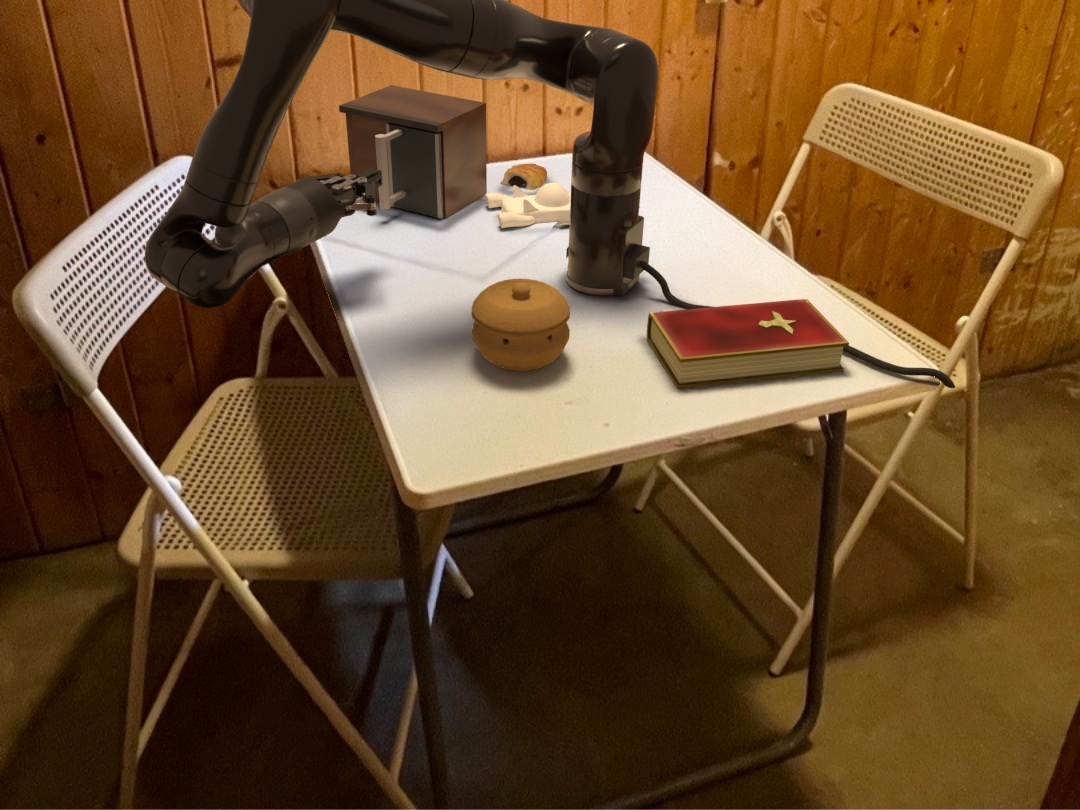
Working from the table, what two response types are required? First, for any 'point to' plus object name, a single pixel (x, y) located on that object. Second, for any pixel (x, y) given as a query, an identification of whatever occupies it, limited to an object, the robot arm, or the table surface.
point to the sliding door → (410, 169)
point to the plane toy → (532, 206)
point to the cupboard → (432, 113)
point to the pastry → (525, 176)
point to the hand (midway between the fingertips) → (377, 176)
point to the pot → (520, 324)
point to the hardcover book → (744, 342)
